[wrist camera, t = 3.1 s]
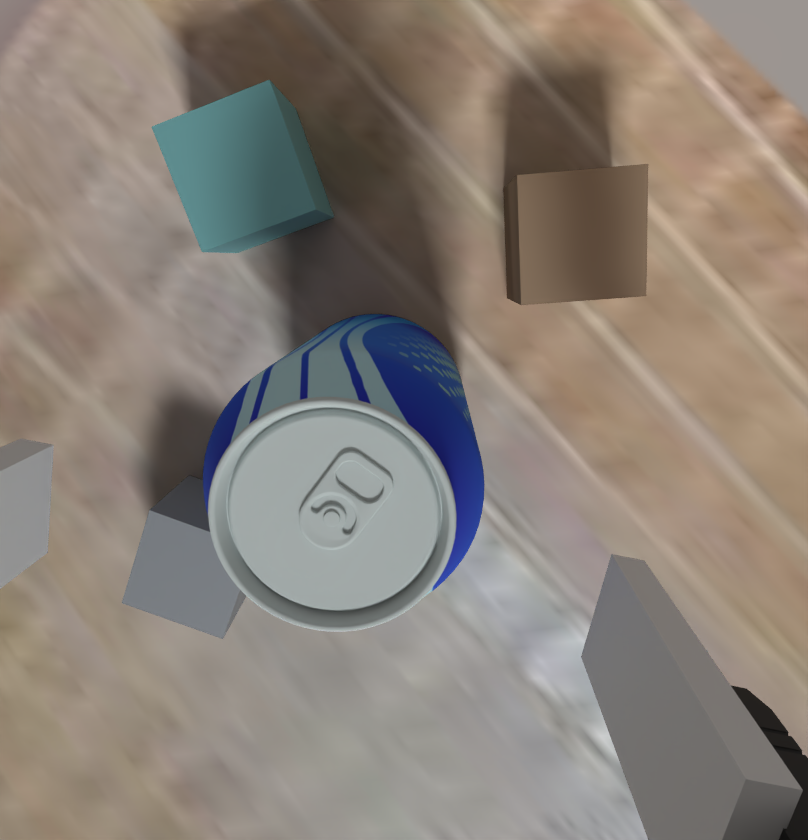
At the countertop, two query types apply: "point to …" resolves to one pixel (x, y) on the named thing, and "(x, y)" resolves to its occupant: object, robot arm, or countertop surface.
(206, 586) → the grey cube
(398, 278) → the countertop surface
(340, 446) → the beer can
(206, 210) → the teal cube
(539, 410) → the countertop surface
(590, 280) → the walnut cube
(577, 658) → the countertop surface
